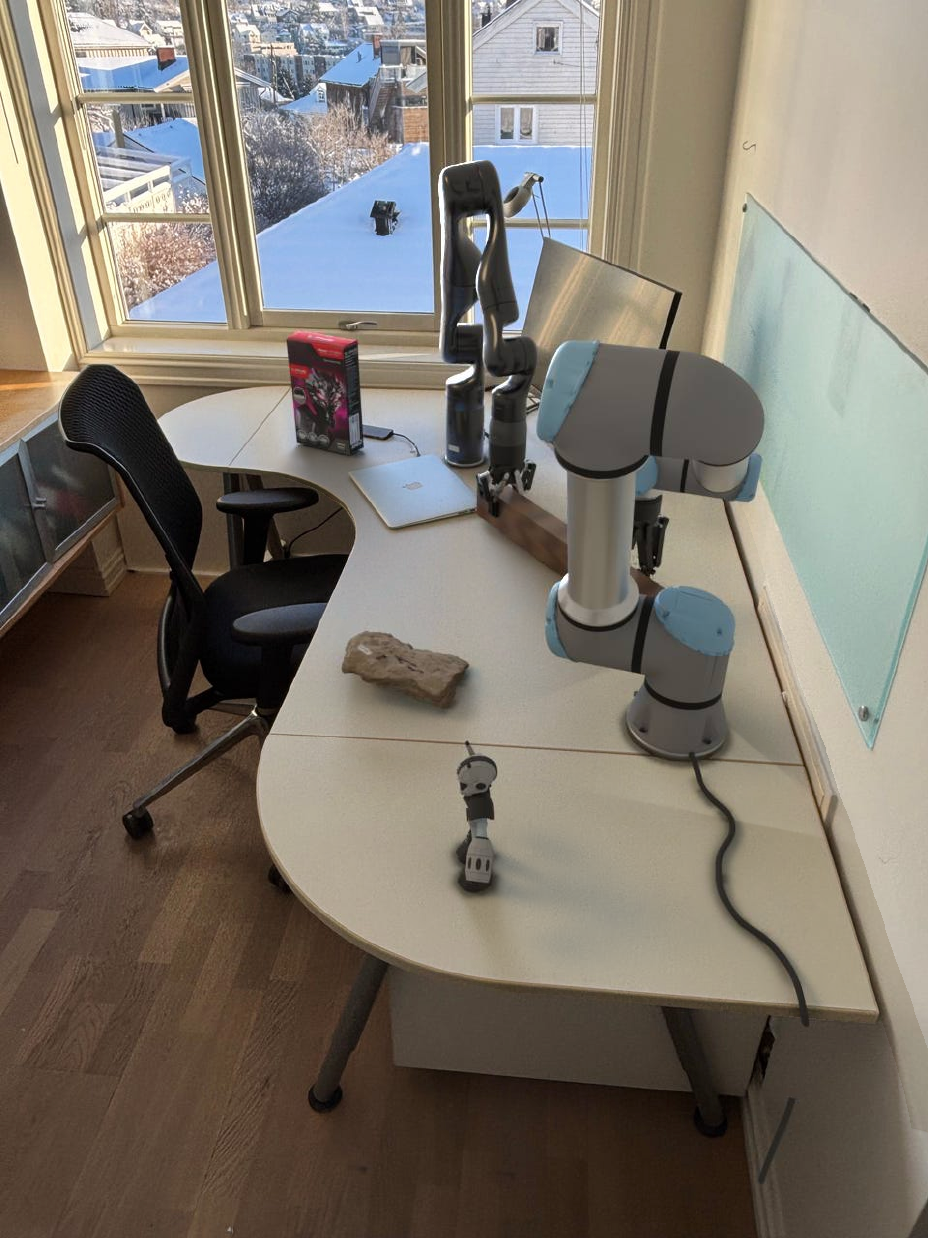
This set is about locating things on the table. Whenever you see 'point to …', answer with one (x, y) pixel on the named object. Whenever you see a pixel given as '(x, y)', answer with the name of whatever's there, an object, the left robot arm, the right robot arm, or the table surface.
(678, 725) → the right robot arm
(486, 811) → the robot
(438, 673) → the stone
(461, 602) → the table surface
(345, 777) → the table surface
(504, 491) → the beam
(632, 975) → the table surface
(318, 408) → the graphics card box
